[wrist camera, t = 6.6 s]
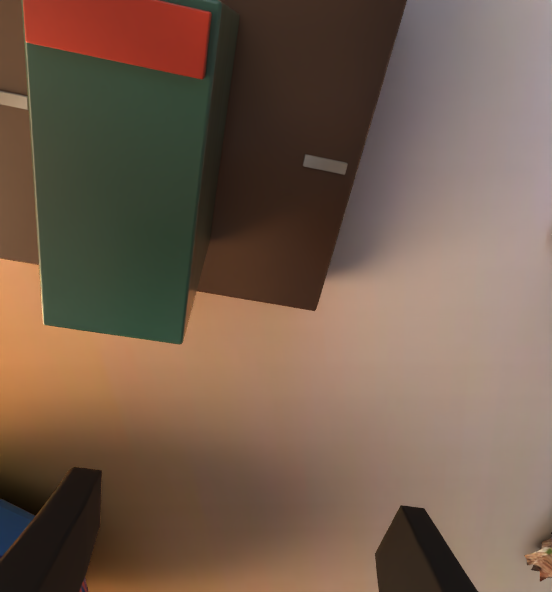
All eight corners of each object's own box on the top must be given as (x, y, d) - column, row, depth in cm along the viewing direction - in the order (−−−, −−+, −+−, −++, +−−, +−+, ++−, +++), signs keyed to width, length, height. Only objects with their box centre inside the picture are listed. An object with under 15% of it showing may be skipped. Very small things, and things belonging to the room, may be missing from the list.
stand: (395, -27, 14) (420, -38, 12) (309, 283, 20) (315, 316, 17) (-9, -133, 13) (-69, -169, 11) (19, 232, 18) (-17, 261, 16)
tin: (209, 244, 16) (181, 352, 11) (115, 228, 16) (37, 331, 10) (240, 13, 13) (221, -1, 7) (121, -14, 12) (8, -51, 7)
